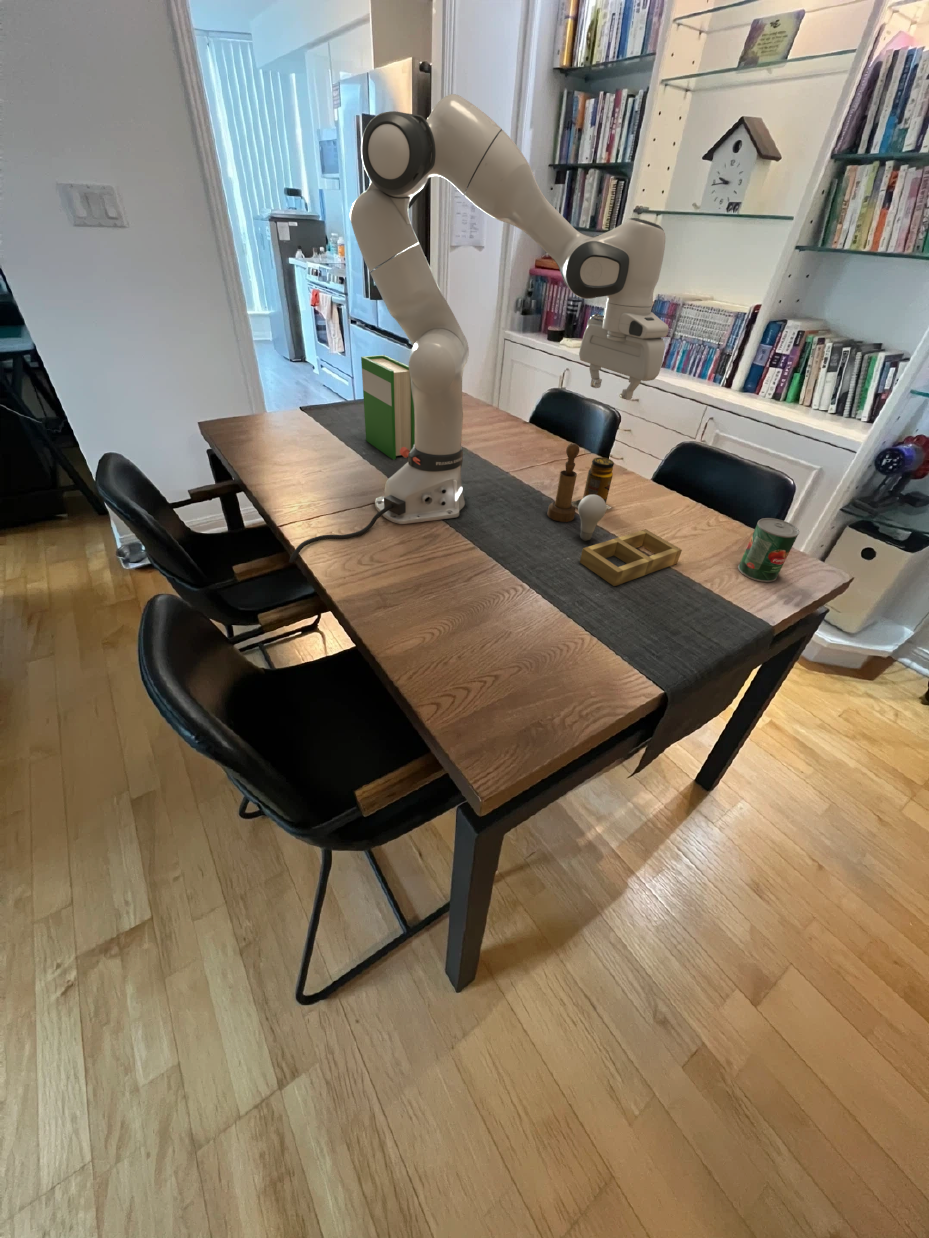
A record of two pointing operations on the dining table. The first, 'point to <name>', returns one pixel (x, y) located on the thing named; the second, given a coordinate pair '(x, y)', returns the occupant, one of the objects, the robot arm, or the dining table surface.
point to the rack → (630, 556)
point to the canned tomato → (768, 549)
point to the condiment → (598, 479)
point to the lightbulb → (590, 514)
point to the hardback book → (388, 404)
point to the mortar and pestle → (565, 489)
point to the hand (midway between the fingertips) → (610, 393)
